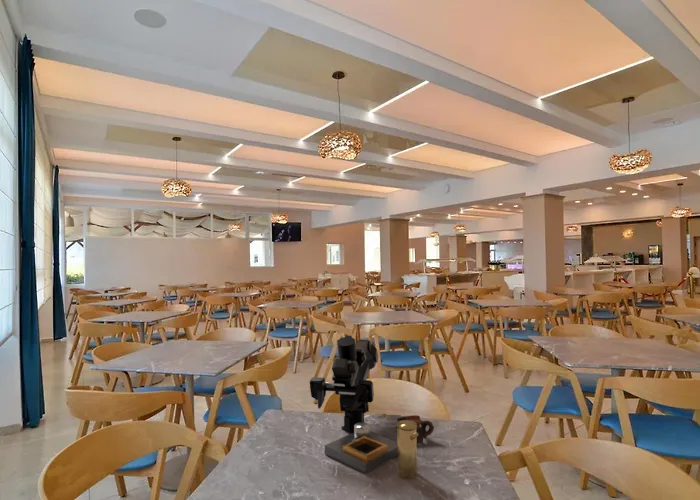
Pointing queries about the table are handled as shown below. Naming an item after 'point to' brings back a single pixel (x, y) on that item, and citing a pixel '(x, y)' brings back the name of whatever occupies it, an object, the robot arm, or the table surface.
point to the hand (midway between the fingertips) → (334, 408)
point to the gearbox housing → (362, 449)
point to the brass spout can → (407, 449)
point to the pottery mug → (421, 431)
